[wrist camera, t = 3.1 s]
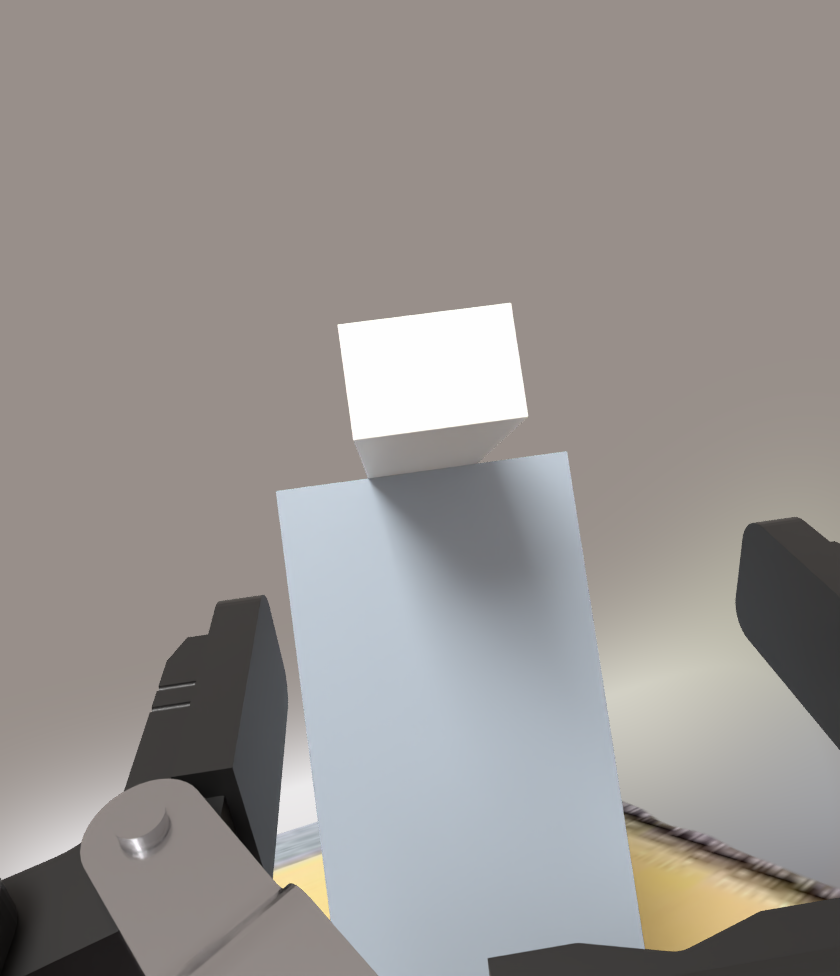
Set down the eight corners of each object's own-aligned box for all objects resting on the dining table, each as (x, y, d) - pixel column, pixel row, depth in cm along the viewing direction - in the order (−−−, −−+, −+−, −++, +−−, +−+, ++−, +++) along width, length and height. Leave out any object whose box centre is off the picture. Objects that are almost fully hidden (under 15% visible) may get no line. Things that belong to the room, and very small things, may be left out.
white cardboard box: (528, 416, 18) (492, 184, 19) (353, 440, 18) (321, 204, 18) (448, 490, 44) (434, 392, 45) (376, 500, 44) (362, 401, 44)
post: (707, 1284, 27) (575, 449, 29) (375, 1349, 26) (267, 491, 28) (587, 1001, 43) (509, 482, 46) (382, 1036, 43) (313, 510, 45)
